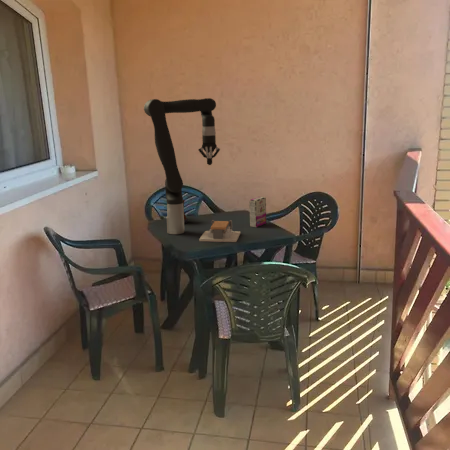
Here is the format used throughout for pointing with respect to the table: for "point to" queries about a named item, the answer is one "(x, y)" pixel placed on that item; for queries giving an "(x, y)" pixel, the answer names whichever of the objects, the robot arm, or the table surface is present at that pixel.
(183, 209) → the mug
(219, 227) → the brown flat panel
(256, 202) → the candy bar box
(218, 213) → the table surface
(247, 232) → the table surface
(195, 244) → the table surface
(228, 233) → the heatsink board
